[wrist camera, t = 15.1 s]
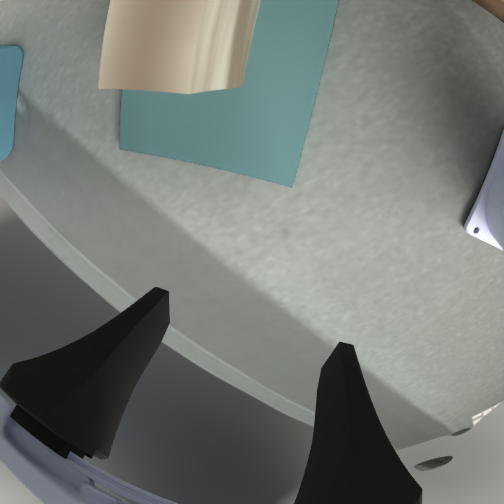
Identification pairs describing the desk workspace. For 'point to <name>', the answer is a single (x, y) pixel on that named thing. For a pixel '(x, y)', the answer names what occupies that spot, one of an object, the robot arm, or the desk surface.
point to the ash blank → (177, 45)
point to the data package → (8, 95)
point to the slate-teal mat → (243, 101)
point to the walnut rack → (493, 7)
